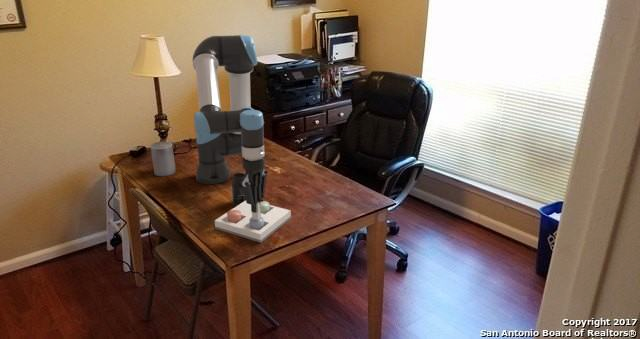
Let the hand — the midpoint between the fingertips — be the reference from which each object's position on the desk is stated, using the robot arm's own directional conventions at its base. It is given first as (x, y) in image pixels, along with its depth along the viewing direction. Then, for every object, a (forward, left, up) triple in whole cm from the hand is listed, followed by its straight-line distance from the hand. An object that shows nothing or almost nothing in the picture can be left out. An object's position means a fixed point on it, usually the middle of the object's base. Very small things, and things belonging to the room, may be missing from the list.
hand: (256, 218), depth 165 cm
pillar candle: (-70, +25, -6) cm, 75 cm away
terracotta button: (-10, 0, -4) cm, 11 cm away
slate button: (0, 0, -4) cm, 4 cm away
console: (-5, +5, -6) cm, 9 cm away
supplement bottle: (-20, +17, -6) cm, 27 cm away
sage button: (-5, +11, -4) cm, 13 cm away
